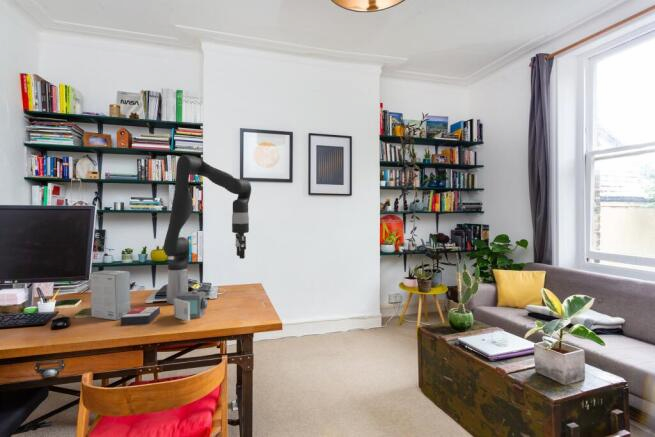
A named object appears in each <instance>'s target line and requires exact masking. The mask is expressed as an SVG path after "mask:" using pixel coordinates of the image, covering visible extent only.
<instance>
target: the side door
mask: <svg viewBox="0 0 655 437" xmlns="http://www.w3.org/2000/svg"><path fill="white" fill-rule="evenodd" d="M175 303H176V317H175V318H176V319H179V320H182V321H186V322H190V321H191V318H190V302H188V301H184V300H180V299H175Z"/></svg>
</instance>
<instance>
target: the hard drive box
mask: <svg viewBox="0 0 655 437" xmlns="http://www.w3.org/2000/svg"><path fill="white" fill-rule="evenodd" d="M130 275H131V271H126V270H125V271H124V270H107V269H105V270H99V271H94V272H90V273H89V280H90V282H89V284H90V311H91V312H90V313H91V317H92V318H97V319H105V320H112V321H113V320H114V321H117V320H121V317H122V316H124V315H126V314H127V313H128V312H130V311H131V310H132V309H131V307H132V306H131V278H130Z"/></svg>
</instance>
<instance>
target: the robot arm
mask: <svg viewBox="0 0 655 437" xmlns="http://www.w3.org/2000/svg"><path fill="white" fill-rule="evenodd" d="M176 161H177V162H176V168H175V170H176V171H175V185H174V190H173V191H174V193H173V197H172V198H173V199H172V202H171V203H172V204H171V208H170V209H171V210H170V212H171V213H170V217H169V223H168V227H167V231H166V235H165V238H164V242H163V253H164V254H165V255H166V256H167V257H170V258H171V257H174V258H173V260H172V261H171V262H169V263H168V264H167V281H168V282H167V284H166V303H167V304H169V305H174V299H175V298H176V299H177V297H176V296H177V295H179V294H180V293H182V292H189V277H188V275H189V272H188V268H189V266H188V265H189V263H190V243H189V240H188V239H187V238H186V237H184V236H182V237H180V232H181V230H182V228H183V227H184V225H185V224H186V223H187V221H188V220H189V218H190V216H191V215H192V210H193V204H194V203H193V202H194V201H193V196H192V193H191V191H190V188H189V179H190V175H192V176H195V175H196V176H201V177H205V178H207V179H208V180H209V182H212V183H213V184H214V185H217V186H219V187H221V188H224V189H225V190H226V191H228V192H229V193H231V194H235V195H237V199H234V200H233V202H232V216H231V232H232V234H233V233H234V234H235V235H234V236H235V244H234V245H235V248H236V256H238V258H239V259H240V260H241V259H242V260H243V259H245V257H246V255H245V253H246V252H245V251H246V249H247V240H246V239H247V236H246V235H245V234H246V233H249V232H250V229H249V228H250V227H249V225H250V224H249V220H250V218H249V217H250V215H249V201H250V198H251V195H252V194H251V193H252V185H251V182H250V181H249V180H247V179H241V178H236V177H234V176H233V175H232V174H230V173H229V172H226V171H224V170H222V169H218V168H216V167H213V166H212V165H210V164H208V162H205V161H204V160H202V159H201V158H199V157H197V156H195V155H188V154H182V155H180V156H179V157H178V158H177V160H176Z"/></svg>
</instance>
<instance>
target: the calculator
mask: <svg viewBox="0 0 655 437" xmlns="http://www.w3.org/2000/svg"><path fill="white" fill-rule="evenodd" d="M160 314H161V308H160V307H159V306H148V307H146V306H144V307H134V308H132V309H131V311H130V312H128V313H127V314H126V315H124V316H122V317H121V318H120V326H121V327H123V326H125V327H127V326H140V325H150V324H151V323H152V322H153V320H155V318H157V316H159V315H160Z"/></svg>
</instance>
